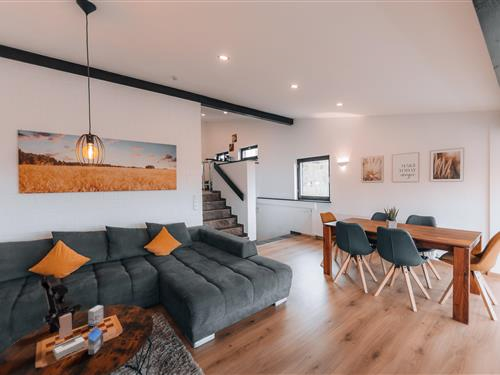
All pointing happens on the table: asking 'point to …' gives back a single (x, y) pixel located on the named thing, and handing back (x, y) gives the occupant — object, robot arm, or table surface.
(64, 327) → the pink rectangular block
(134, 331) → the table surface
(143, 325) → the table surface
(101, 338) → the label tape cartridge
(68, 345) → the dispenser
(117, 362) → the table surface
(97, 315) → the ink box
